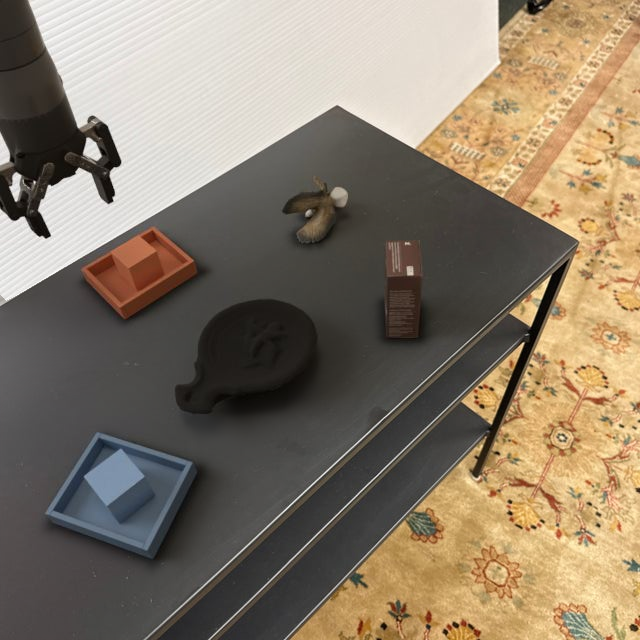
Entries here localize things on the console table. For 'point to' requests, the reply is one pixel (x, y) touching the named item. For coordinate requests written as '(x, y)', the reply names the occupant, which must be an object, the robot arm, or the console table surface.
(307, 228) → the eagle figurine
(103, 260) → the terracotta tray
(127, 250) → the terracotta block
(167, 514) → the blue tray
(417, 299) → the box
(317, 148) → the console table surface
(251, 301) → the oil lamp
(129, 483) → the blue block
